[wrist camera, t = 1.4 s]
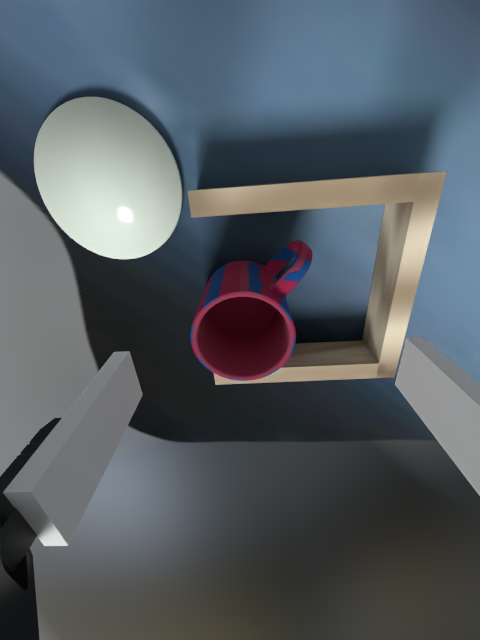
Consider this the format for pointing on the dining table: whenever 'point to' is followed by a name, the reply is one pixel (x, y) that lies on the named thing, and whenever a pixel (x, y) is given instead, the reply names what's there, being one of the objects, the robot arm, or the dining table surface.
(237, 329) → the mug
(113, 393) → the robot arm
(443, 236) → the dining table surface
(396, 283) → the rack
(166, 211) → the white round flat disc
